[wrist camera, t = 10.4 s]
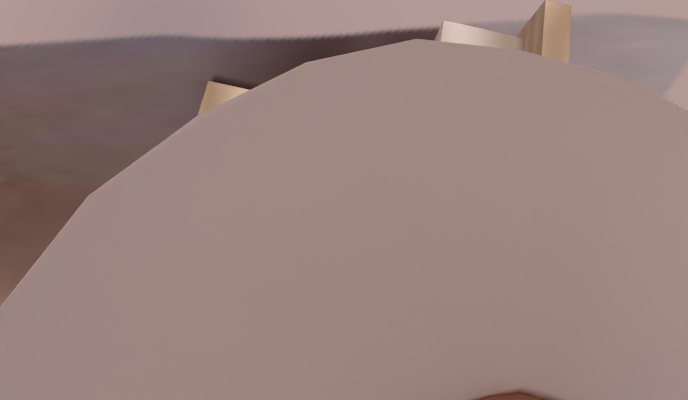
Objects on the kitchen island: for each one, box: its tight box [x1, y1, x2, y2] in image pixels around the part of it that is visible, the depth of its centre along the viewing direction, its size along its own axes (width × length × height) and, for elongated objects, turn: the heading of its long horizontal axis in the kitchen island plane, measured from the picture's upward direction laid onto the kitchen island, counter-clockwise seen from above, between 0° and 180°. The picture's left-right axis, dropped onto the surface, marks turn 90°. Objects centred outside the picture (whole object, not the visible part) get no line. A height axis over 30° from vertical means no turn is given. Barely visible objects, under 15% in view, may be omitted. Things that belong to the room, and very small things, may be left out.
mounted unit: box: [434, 0, 571, 63], centre depth 27 cm, size 7×13×17 cm, turn 169°
